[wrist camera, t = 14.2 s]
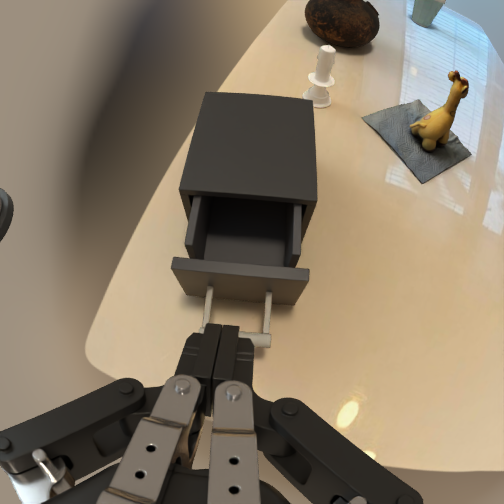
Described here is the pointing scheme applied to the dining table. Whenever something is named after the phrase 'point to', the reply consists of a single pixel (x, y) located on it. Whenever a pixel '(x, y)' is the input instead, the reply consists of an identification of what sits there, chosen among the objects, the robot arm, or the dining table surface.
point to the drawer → (243, 255)
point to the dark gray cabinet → (253, 151)
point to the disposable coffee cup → (426, 11)
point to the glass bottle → (343, 21)
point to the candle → (321, 78)
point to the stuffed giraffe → (424, 132)
